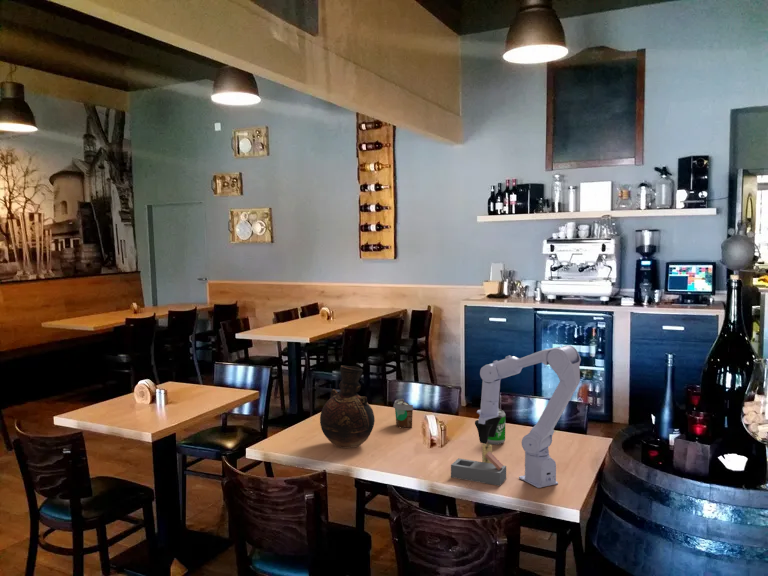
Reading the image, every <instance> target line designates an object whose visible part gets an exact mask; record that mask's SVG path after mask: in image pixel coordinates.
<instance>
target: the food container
mask: <svg viewBox="0 0 768 576" xmlns="http://www.w3.org/2000/svg"><path fill="white" fill-rule="evenodd" d="M392 407H393V408H394V411H395V423H396V424H395V426H396V427H397V428H399V427H401V428H400V429H404V428H412V429H413V414H414V413H413V411H414V405H413V404H409V403H408V402H406V401H405V399H404V398H399V399H396V400H395V401H394V403H393V406H392Z"/></svg>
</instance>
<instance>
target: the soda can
mask: <svg viewBox="0 0 768 576" xmlns="http://www.w3.org/2000/svg"><path fill="white" fill-rule="evenodd" d="M498 415H500V416H502V418H501V420H500V422H499V424H498V426H497V429H496V433H495V436H494V437H489V436H488V441H487V444H491V445H502V444H503V443H504V442H505V441H506V413H505V411H504V410H502V409H500V408H499V413H498ZM501 443H502V444H501Z"/></svg>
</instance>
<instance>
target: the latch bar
mask: <svg viewBox="0 0 768 576" xmlns="http://www.w3.org/2000/svg"><path fill="white" fill-rule="evenodd" d="M485 457H486V458H487V459H488V460H489V461H490V462H491V463H492V464H493V465H494V466H495V467H496V468H497V469H498V470H500V469H501V468H502V466H503V465H504V464H503V463H502V462H501V461H500V460H499V459H498V458H497V457H496V456H495V455H494V454H493V452H492V453H491V452H490V451H489V452H488V453H487V454H486V455H485Z"/></svg>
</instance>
